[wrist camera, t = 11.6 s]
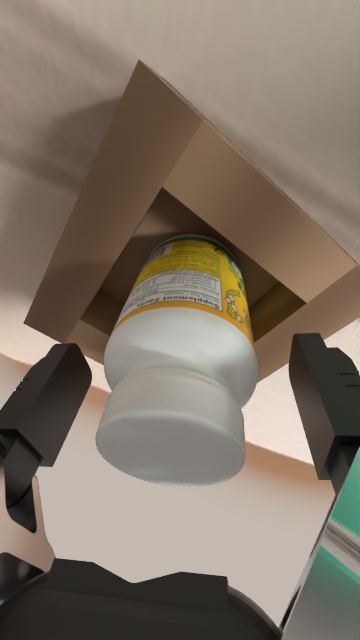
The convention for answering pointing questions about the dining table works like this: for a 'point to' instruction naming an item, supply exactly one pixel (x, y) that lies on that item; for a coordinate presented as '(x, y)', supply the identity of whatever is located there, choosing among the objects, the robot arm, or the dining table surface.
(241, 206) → the walnut tray
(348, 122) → the dining table surface
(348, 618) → the robot arm
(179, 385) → the supplement bottle
